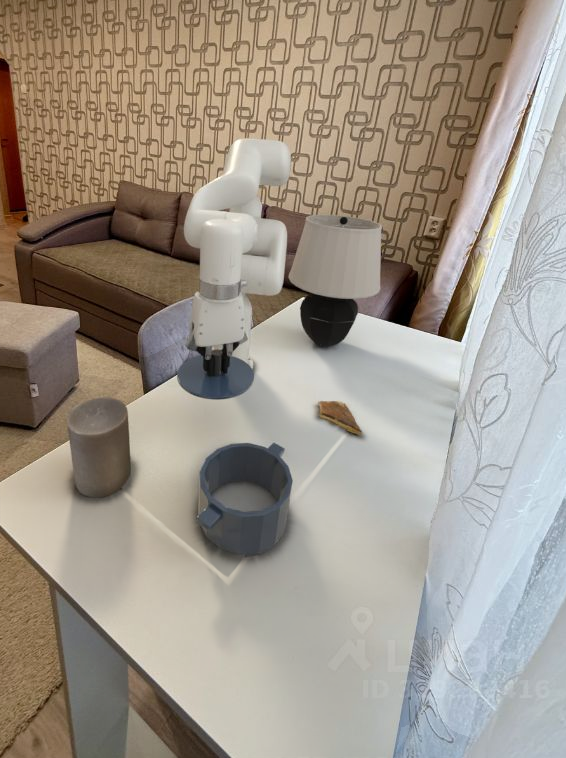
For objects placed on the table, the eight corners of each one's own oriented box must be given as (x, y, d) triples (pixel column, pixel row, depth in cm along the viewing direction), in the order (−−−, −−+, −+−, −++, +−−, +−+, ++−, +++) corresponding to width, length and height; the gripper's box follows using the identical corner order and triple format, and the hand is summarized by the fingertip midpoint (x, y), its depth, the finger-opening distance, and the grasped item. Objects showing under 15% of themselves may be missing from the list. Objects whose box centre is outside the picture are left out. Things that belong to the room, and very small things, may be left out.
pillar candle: (140, 462, 75) (138, 396, 69) (114, 504, 66) (108, 433, 60) (93, 451, 76) (87, 386, 70) (61, 491, 67) (51, 420, 62)
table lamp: (316, 318, 143) (333, 206, 128) (383, 348, 125) (412, 222, 110) (263, 338, 126) (276, 211, 110) (332, 375, 108) (358, 230, 92)
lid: (160, 379, 79) (160, 353, 77) (212, 350, 91) (213, 326, 89) (220, 413, 71) (221, 385, 69) (268, 377, 83) (271, 351, 80)
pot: (167, 530, 62) (167, 490, 59) (244, 458, 77) (247, 423, 74) (240, 592, 54) (244, 550, 51) (309, 499, 69) (316, 462, 66)
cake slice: (361, 437, 85) (362, 431, 85) (327, 438, 84) (328, 432, 84) (343, 406, 95) (344, 400, 95) (313, 407, 94) (314, 400, 93)
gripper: (251, 277, 79) (245, 356, 87) (171, 284, 73) (172, 368, 80) (267, 291, 73) (259, 374, 80) (182, 299, 67) (182, 389, 74)
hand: (216, 370), depth 80 cm, fingers closed on lid, 2 cm apart
